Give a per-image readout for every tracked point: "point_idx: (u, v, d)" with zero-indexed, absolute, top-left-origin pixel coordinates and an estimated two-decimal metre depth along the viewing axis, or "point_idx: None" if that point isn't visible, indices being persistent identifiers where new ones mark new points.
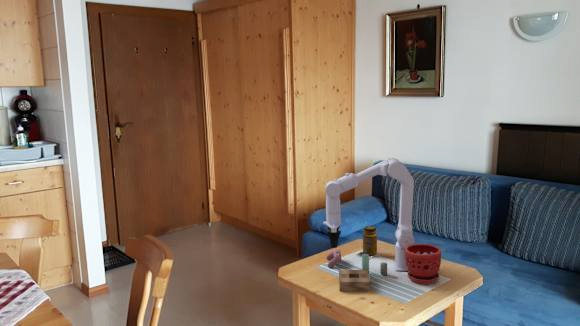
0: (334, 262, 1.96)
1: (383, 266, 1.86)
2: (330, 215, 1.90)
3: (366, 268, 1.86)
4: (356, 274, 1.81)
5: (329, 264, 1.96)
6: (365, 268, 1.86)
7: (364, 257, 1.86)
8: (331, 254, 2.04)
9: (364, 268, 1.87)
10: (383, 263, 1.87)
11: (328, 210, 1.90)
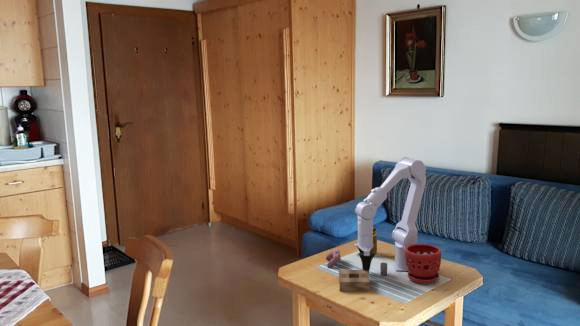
0: (334, 262, 1.96)
1: (383, 266, 1.86)
2: (362, 237, 1.83)
3: None
4: (356, 274, 1.81)
5: (328, 264, 1.96)
6: None
7: None
8: (330, 254, 2.04)
9: None
10: (383, 263, 1.87)
11: (363, 233, 1.83)
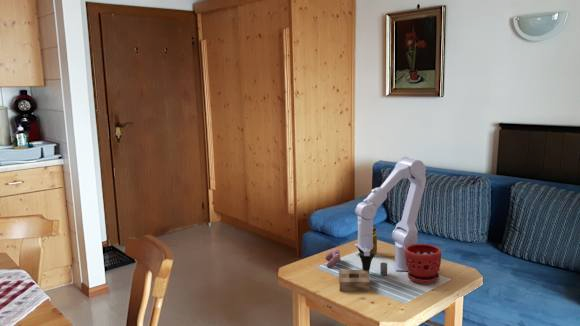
0: (333, 262, 1.96)
1: (383, 266, 1.86)
2: (362, 238, 1.83)
3: None
4: (356, 274, 1.81)
5: (328, 264, 1.96)
6: None
7: None
8: (330, 254, 2.04)
9: None
10: (383, 263, 1.87)
11: (363, 233, 1.82)
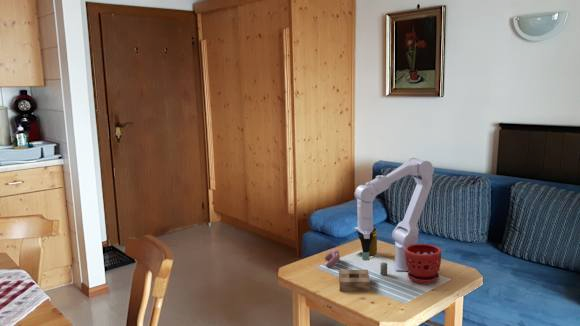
0: (333, 262, 1.96)
1: (383, 266, 1.86)
2: (362, 220, 1.82)
3: (366, 252, 1.85)
4: (356, 274, 1.81)
5: (327, 264, 1.96)
6: (365, 252, 1.85)
7: None
8: (329, 254, 2.04)
9: (364, 252, 1.86)
10: (383, 263, 1.87)
11: (363, 216, 1.81)
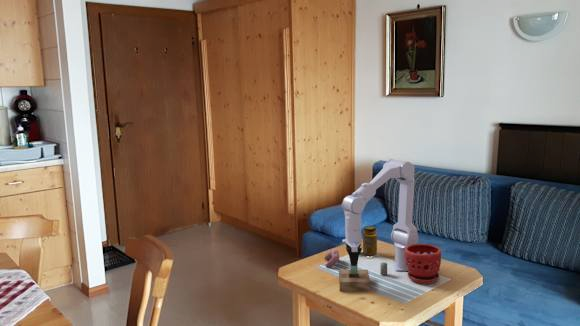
0: (332, 262, 1.96)
1: (383, 266, 1.86)
2: (350, 233, 1.74)
3: (354, 266, 1.77)
4: (356, 274, 1.81)
5: (327, 264, 1.96)
6: (353, 266, 1.77)
7: None
8: (329, 254, 2.04)
9: (352, 266, 1.77)
10: (383, 263, 1.87)
11: (353, 228, 1.73)
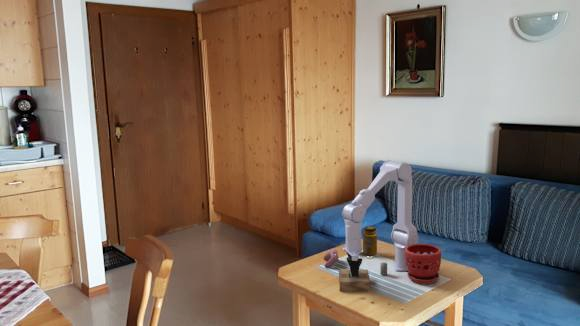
0: (331, 262, 1.96)
1: (383, 266, 1.86)
2: (350, 241, 1.74)
3: None
4: None
5: (326, 264, 1.96)
6: None
7: None
8: (328, 254, 2.04)
9: None
10: (383, 263, 1.87)
11: (353, 236, 1.74)
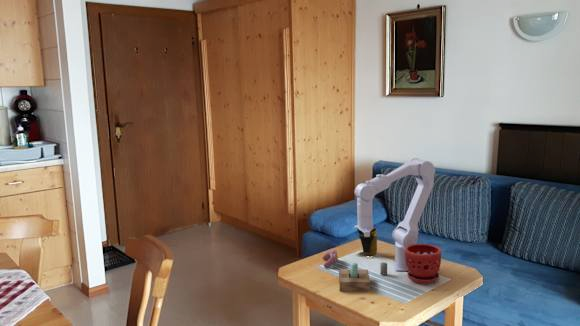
0: (330, 262, 1.96)
1: (383, 266, 1.86)
2: (362, 219, 1.83)
3: None
4: None
5: (325, 264, 1.96)
6: None
7: (352, 266, 1.77)
8: (327, 254, 2.04)
9: None
10: (383, 263, 1.87)
11: (362, 214, 1.82)
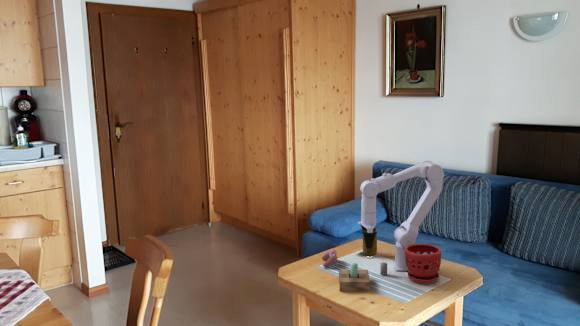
0: (330, 262, 1.96)
1: (383, 266, 1.86)
2: (366, 215, 1.86)
3: None
4: None
5: (325, 264, 1.96)
6: None
7: (352, 266, 1.77)
8: (327, 254, 2.04)
9: None
10: (383, 263, 1.87)
11: (365, 210, 1.86)
